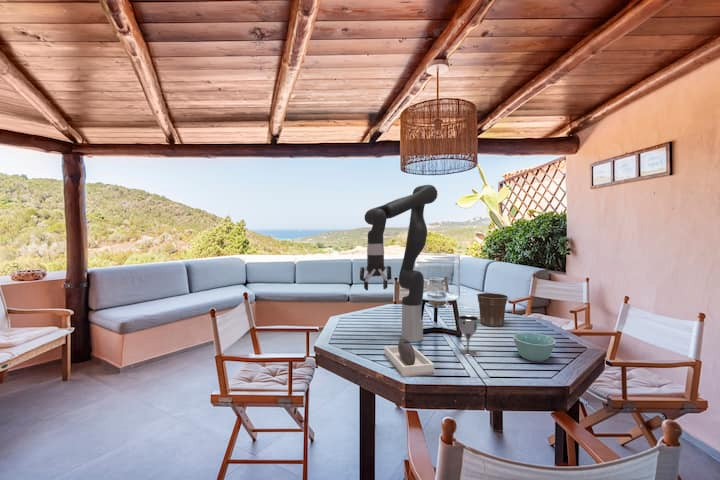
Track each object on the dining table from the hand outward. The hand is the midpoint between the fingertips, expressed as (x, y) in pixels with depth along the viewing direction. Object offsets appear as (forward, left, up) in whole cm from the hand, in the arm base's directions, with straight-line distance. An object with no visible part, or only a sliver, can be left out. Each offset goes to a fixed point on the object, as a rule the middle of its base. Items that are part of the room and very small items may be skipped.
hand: (375, 289), depth 157 cm
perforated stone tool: (-6, +23, -25) cm, 34 cm away
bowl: (-59, +29, -26) cm, 71 cm away
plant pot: (-73, -20, -26) cm, 80 cm away
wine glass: (-36, +17, -26) cm, 48 cm away
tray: (-6, +23, -26) cm, 35 cm away
